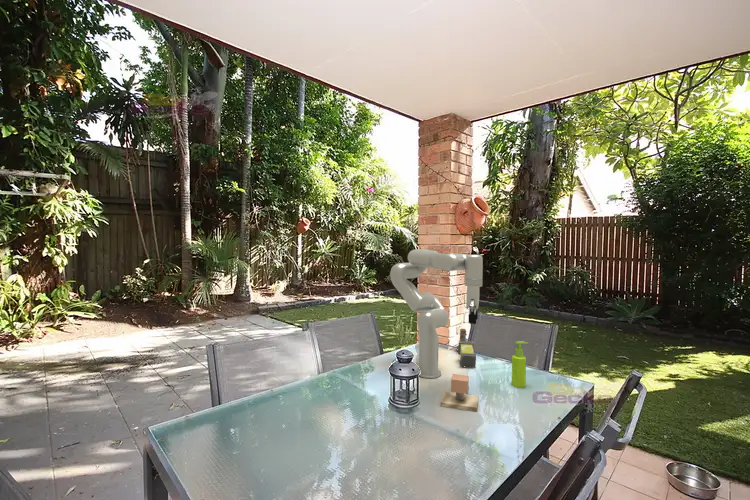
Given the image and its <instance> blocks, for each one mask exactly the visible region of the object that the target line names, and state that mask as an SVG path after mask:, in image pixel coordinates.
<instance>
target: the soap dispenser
mask: <svg viewBox="0 0 750 500" xmlns="http://www.w3.org/2000/svg"><path fill="white" fill-rule="evenodd" d="M515 344H516V347H515V348H514V354H513V355H511V386H512V387H514V388H518V389H519V388H522V389H523V388H526V385H527V384H526V378H527V377H526V376H527V375H526V374H527V372H526V371H527V370H526V369H527V363H526V362H527V357H526V356H525V355H524V348H522V345H523V344H524V345H525V344H526V345H529V342H527V341H522V340H520V341H519V340H518V341H515Z"/></svg>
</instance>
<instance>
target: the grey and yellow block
mask: <svg viewBox="0 0 750 500" xmlns="http://www.w3.org/2000/svg"><path fill="white" fill-rule="evenodd" d="M467 335H468V334H467V329H466V328H460V329H459V341H458V345H456V346H455V347H457V349H458V350H457V349H456V352H457V351H458V352H457V353H458V355H460V358H459V367H460V366H465V367H464V368H470V367H475V368H476V365H477V363H476V362H477V353H474V344H475V343H474V341H473V340H469V339H468V338H466V336H467Z"/></svg>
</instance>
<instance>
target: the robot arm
mask: <svg viewBox="0 0 750 500" xmlns="http://www.w3.org/2000/svg"><path fill="white" fill-rule="evenodd" d="M483 259H484V258H483V256H482V255H481V254H466V253H440V252H438V251H437V250H431V249H427V248H426V249H425V248H424V249H423V248H422V249H419V248H417V249H412V250H410V251H409V253H408V254H407V261H408V262H399V263H396V264H394V265H393V266H392V267H391V269H390V272H389V273H390V281H391V283H392V285H393V286H394V288H395V289H396V290H397V291H398V293H399V294H400V295H401V297H402V298H403V300H404V302H406V304H407V305H408V307H409V308H410V310H411V311H413V312H414V313H419V314H417V317H416V318H417V319H416V322H417V323H416V324H417V329H418V363H416V364H417V365H418V366H419V368H420V370H421V374H420V376H419V377H421V378H425V379H436V378H440V377H441V376H442V371H441V370H440V369H439V336H438V333H437V329H439V328H442V327H446V325H447V324H448V323H449V320H450V318H449V314H448V312H447V311H446V309H445V307H444V306H443V305H442V303H441V302H440V301H439V299H438V298H437V297H436V296H435V295H434V293H432V292H428V291H427V292H420V290H419V289H418V288H417V287H416V286H415V285H414V283H413V282H411V281H410V280H408V279H417V278H418V277H419V276H421V275H422V274H423V273H424V272H425V271H426V270H427V269H428V268H431V269H433V270H434V269H435V270H439V271H440V270H441V271H447V272H448V271H449V272H450V271H451V272H455V271H464V286H465V287H466V300H465V301H466V303H465V305H466V306H465V308H466V310H467V309H468V324H473V325H476V324H477V320H478V319H479V318H478V315H479V313H478V309H479V303H480V288H481V287H483V272H484V271H483V269H484V268H483V261H484V260H483Z"/></svg>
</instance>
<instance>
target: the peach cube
mask: <svg viewBox="0 0 750 500" xmlns="http://www.w3.org/2000/svg"><path fill="white" fill-rule="evenodd" d="M469 378H470V377H469V375H465V374H458V373H452V376H451V379H450V381H451V382H450V392H451V393H463V394H465V395H469V394H468V393H469Z"/></svg>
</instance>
